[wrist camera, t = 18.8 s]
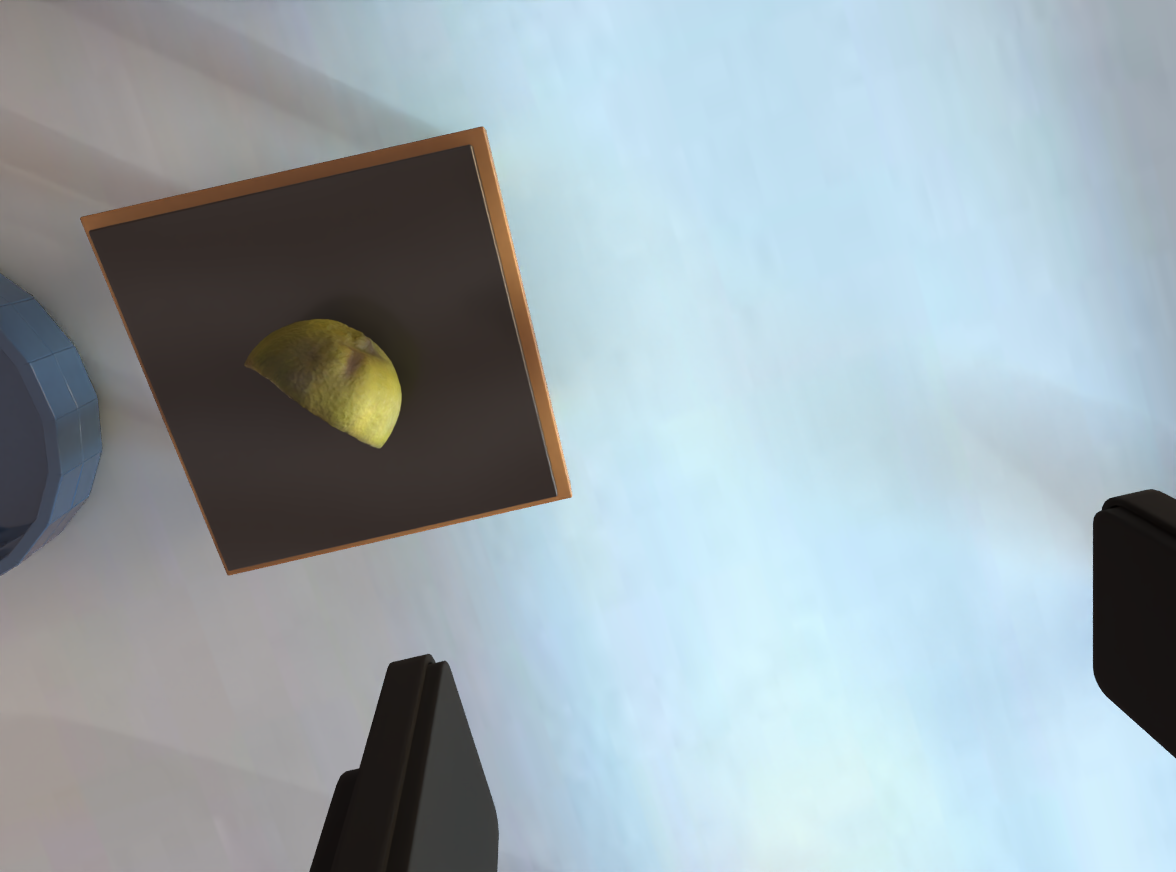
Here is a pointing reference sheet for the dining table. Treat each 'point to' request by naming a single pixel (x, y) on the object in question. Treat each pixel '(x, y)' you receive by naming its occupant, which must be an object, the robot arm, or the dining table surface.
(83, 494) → the bowl
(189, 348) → the stool
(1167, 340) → the dining table surface
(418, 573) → the dining table surface
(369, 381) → the lime
